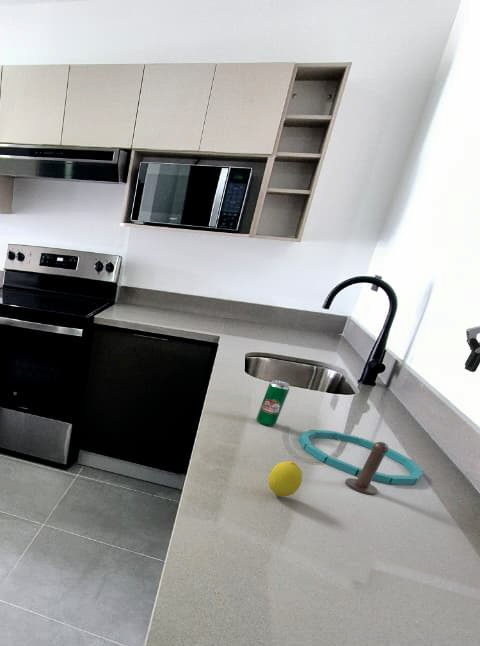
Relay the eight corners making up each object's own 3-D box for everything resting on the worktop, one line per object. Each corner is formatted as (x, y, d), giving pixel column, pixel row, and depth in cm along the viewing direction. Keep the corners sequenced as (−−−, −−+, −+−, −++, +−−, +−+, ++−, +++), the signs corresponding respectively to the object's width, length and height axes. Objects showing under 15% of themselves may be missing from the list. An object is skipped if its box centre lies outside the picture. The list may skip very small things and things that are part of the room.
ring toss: (371, 485, 111) (394, 441, 107) (380, 497, 106) (404, 451, 101) (341, 477, 113) (362, 433, 108) (349, 489, 107) (371, 444, 103)
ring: (396, 451, 133) (399, 446, 132) (437, 496, 110) (441, 490, 110) (292, 427, 139) (294, 422, 139) (310, 464, 117) (313, 458, 116)
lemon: (288, 507, 97) (304, 471, 93) (259, 494, 100) (273, 459, 97) (296, 498, 101) (311, 463, 97) (267, 486, 104) (281, 452, 100)
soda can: (254, 422, 139) (269, 381, 134) (257, 417, 143) (272, 378, 138) (273, 428, 136) (289, 387, 131) (276, 423, 140) (292, 383, 135)
